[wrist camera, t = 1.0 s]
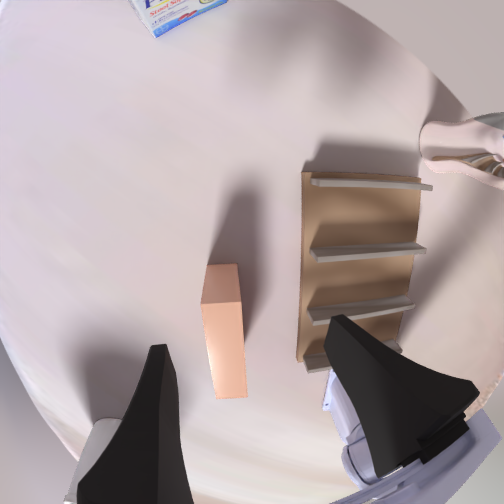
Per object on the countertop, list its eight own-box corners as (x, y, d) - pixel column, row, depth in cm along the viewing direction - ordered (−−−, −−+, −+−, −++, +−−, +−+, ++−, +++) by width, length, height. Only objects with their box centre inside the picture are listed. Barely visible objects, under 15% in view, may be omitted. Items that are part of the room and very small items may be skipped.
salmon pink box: (242, 347, 29) (247, 397, 22) (217, 349, 29) (216, 399, 22) (236, 262, 26) (241, 301, 19) (207, 264, 25) (200, 304, 18)
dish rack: (390, 339, 31) (403, 355, 28) (296, 357, 30) (302, 377, 27) (415, 177, 24) (436, 180, 21) (301, 172, 23) (313, 173, 20)
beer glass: (436, 105, 22) (541, 98, 8) (462, 154, 24) (561, 170, 10) (405, 139, 23) (525, 142, 9) (435, 189, 25) (542, 221, 11)
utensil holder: (74, 415, 32) (44, 493, 15) (140, 411, 31) (118, 515, 15) (122, 459, 37) (109, 529, 20) (187, 457, 36) (184, 540, 20)
